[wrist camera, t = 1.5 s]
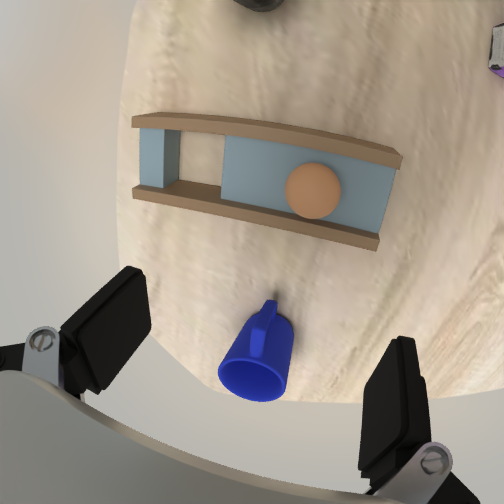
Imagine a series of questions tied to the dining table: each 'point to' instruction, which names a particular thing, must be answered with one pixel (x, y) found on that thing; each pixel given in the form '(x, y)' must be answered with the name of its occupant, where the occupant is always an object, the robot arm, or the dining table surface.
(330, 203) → the ball
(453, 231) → the dining table surface
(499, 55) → the candy box
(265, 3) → the beverage cup
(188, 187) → the board
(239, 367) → the mug
